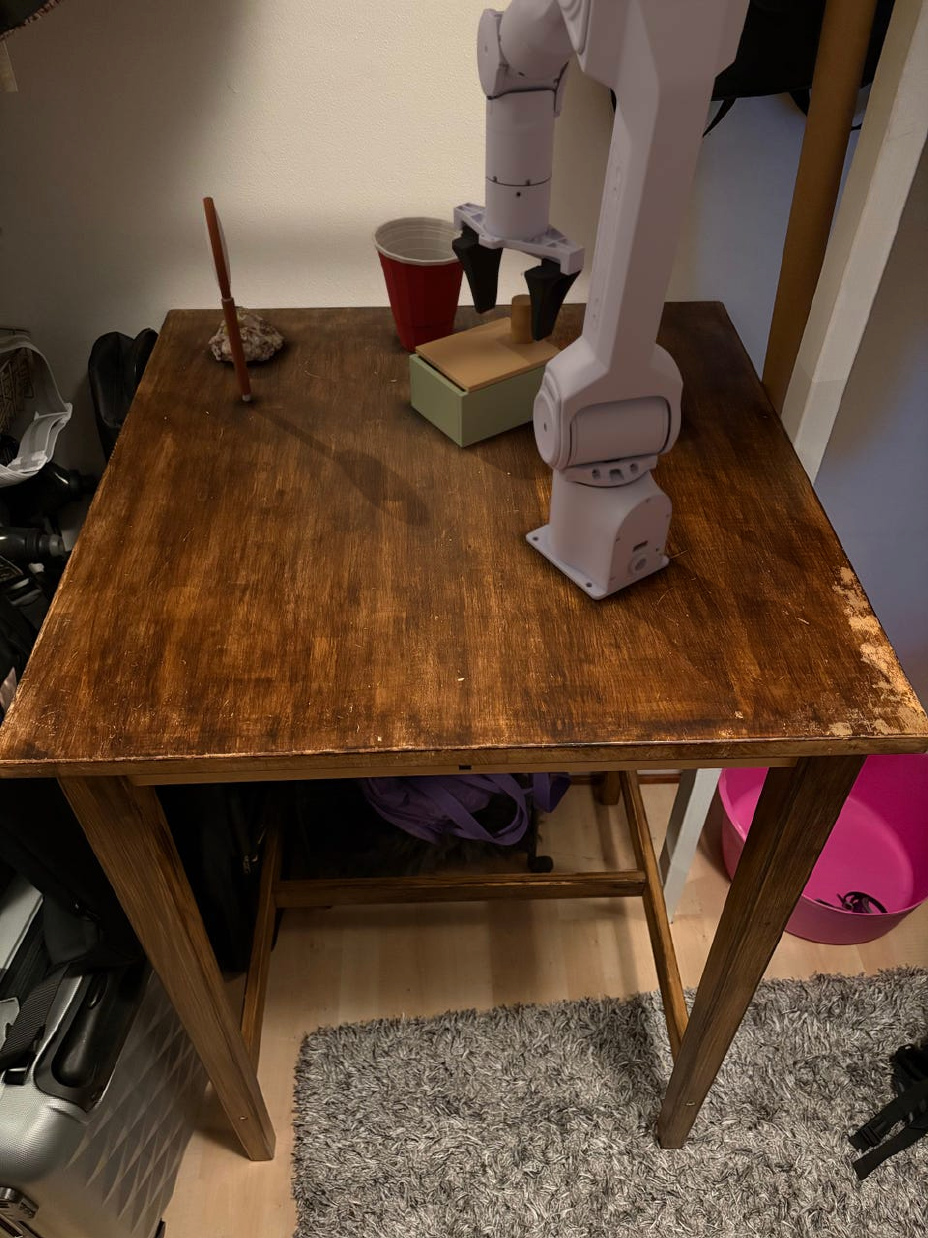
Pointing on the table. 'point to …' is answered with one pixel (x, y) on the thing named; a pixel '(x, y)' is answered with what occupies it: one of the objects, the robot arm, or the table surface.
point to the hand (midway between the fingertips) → (513, 323)
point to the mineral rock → (248, 338)
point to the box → (473, 402)
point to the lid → (490, 350)
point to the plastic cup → (420, 276)
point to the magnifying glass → (225, 291)
